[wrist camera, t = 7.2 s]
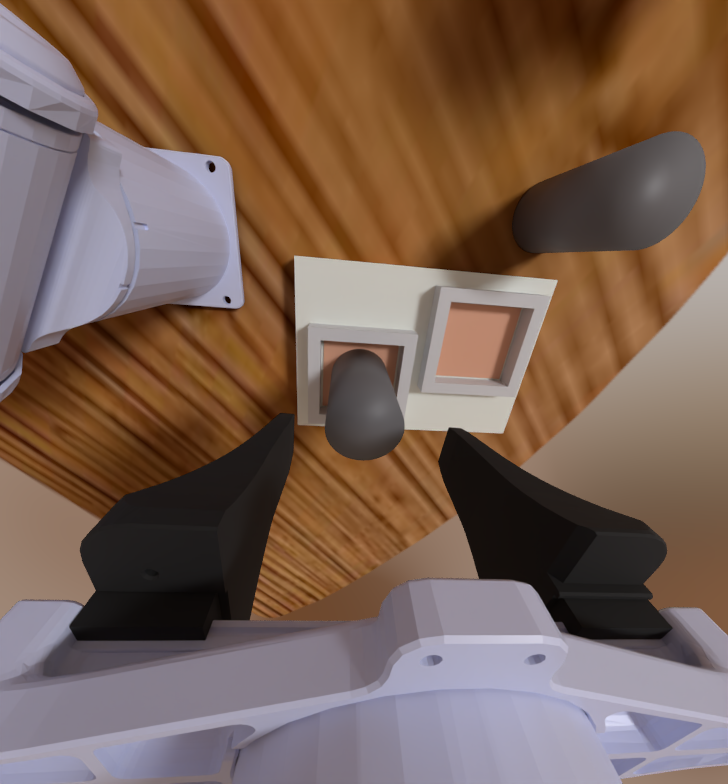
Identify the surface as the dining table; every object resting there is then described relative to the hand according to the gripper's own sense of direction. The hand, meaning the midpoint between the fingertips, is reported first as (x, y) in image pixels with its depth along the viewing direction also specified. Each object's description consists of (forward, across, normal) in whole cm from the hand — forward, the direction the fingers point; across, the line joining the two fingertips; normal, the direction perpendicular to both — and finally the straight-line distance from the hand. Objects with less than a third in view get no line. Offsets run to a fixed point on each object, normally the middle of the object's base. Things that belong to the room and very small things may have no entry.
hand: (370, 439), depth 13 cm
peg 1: (+8, 0, 0) cm, 8 cm away
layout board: (+9, -4, -2) cm, 10 cm away
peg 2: (+9, -10, -11) cm, 18 cm away
